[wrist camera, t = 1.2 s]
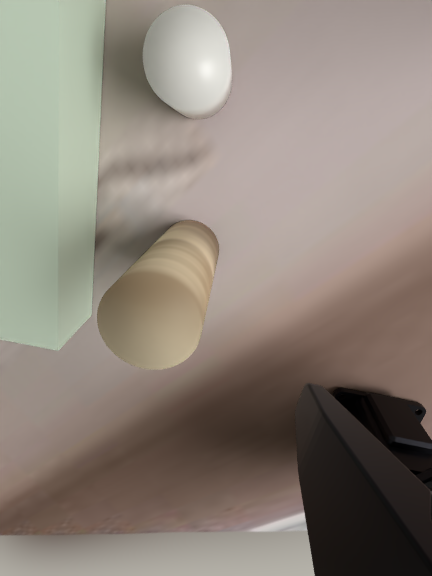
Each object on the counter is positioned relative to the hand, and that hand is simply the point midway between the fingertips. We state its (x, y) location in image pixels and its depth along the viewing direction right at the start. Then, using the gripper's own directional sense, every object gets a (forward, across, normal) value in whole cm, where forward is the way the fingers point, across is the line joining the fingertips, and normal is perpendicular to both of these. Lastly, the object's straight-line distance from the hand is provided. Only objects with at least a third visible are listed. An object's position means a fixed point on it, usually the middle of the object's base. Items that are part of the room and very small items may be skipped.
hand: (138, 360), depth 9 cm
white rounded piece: (+12, +2, -9) cm, 15 cm away
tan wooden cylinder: (+12, 0, 0) cm, 13 cm away
